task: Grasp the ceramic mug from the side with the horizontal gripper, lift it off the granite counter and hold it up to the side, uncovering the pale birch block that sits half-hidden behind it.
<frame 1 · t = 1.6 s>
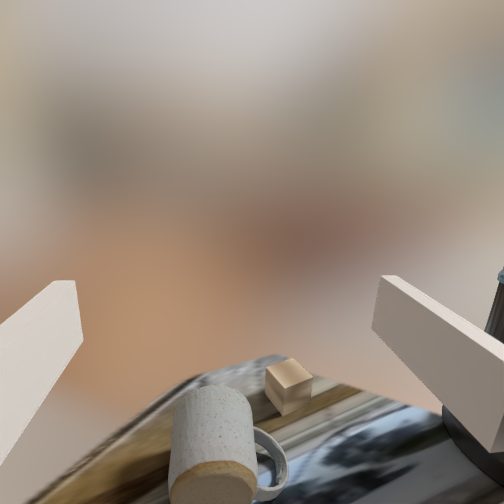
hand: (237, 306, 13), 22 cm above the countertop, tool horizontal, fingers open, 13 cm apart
ceramic mug: (228, 478, 29), on the countertop
birch block: (286, 398, 38), on the countertop
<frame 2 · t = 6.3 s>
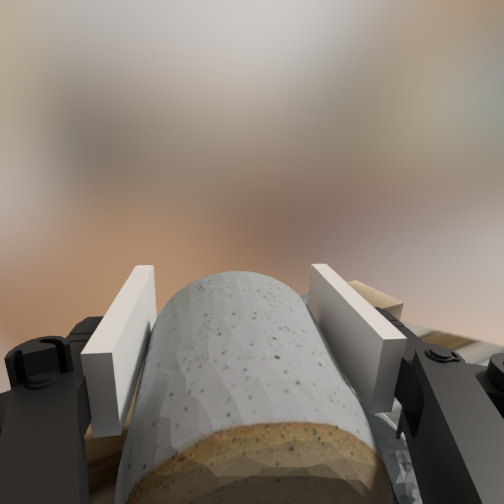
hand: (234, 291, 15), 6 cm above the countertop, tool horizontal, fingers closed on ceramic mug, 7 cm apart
ceramic mug: (274, 484, 12), on the countertop, touching gripper
birch block: (348, 348, 21), on the countertop
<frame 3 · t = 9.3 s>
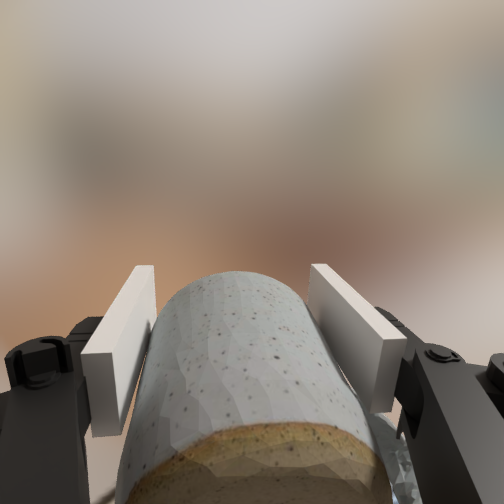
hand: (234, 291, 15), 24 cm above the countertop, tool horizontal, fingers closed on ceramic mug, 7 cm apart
ceramic mug: (274, 484, 12), point 18 cm above the countertop, touching gripper
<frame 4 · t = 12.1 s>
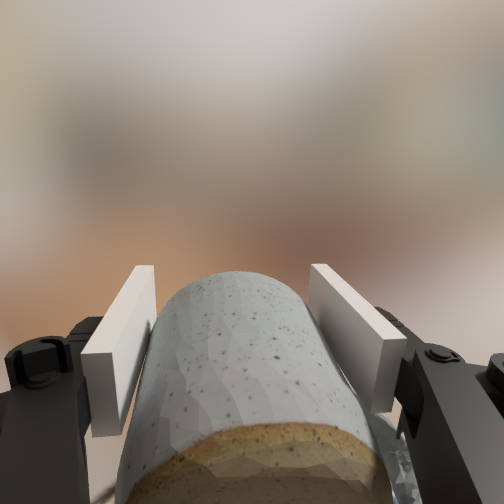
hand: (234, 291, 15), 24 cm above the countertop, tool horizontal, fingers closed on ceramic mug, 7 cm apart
ceramic mug: (274, 484, 12), point 18 cm above the countertop, touching gripper
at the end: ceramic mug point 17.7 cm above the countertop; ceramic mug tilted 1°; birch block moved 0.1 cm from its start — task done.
